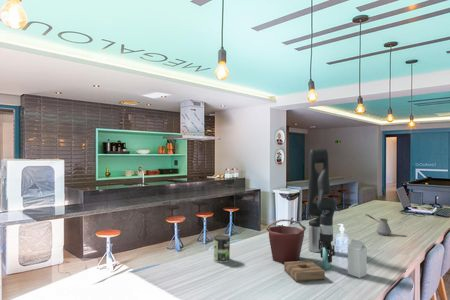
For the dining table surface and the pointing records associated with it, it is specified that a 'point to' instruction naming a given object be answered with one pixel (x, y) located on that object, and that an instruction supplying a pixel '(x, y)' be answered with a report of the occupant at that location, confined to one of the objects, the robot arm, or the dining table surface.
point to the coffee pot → (382, 227)
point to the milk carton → (357, 258)
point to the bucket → (285, 241)
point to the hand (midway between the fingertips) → (326, 260)
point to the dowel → (325, 260)
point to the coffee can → (221, 248)
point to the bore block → (304, 271)
